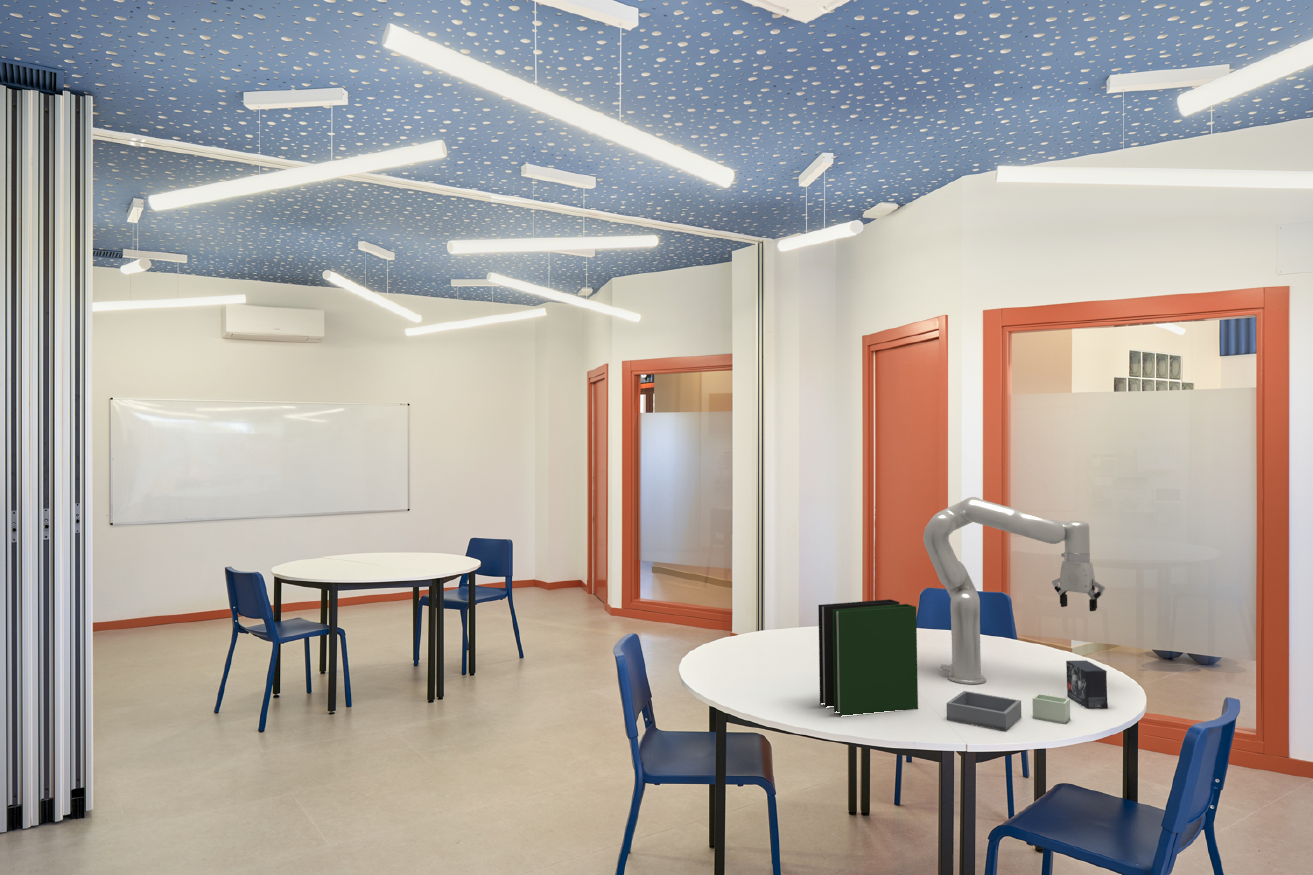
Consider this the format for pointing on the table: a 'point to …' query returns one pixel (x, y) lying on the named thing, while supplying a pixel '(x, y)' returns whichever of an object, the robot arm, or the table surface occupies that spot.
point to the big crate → (984, 710)
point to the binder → (868, 656)
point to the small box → (1087, 684)
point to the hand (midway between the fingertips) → (1078, 608)
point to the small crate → (1051, 708)
